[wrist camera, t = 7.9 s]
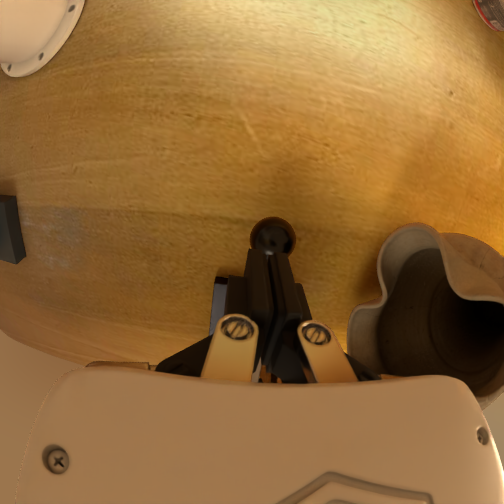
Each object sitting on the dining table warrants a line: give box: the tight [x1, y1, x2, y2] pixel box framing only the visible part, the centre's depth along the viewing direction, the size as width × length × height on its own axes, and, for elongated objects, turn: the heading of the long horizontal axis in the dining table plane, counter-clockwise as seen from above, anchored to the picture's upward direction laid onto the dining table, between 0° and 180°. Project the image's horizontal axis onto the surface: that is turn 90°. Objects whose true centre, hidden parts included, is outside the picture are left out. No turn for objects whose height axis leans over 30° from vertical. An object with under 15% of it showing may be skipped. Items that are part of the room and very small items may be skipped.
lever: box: [250, 217, 296, 383], centre depth 20 cm, size 16×3×3 cm, turn 170°
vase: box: [347, 223, 504, 410], centre depth 21 cm, size 22×22×28 cm
